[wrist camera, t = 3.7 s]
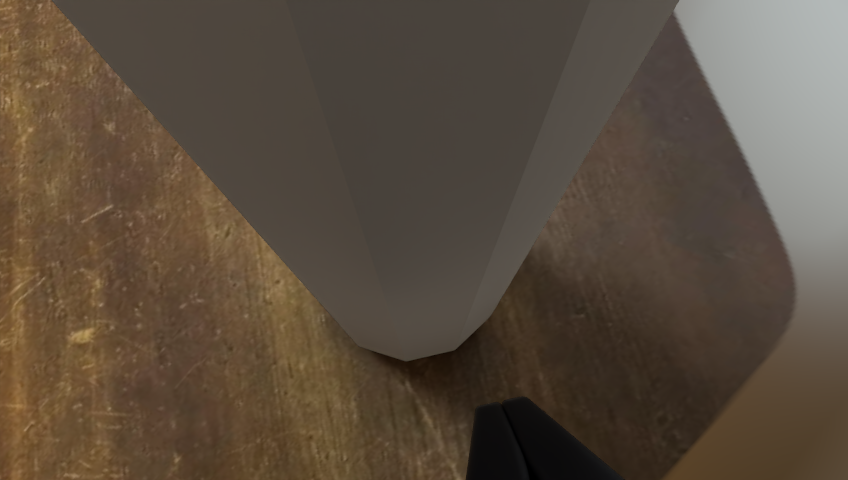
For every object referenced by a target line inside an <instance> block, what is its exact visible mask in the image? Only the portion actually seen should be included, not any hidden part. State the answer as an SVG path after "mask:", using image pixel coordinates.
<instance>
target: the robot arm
mask: <svg viewBox="0 0 848 480" xmlns="http://www.w3.org/2000/svg"><path fill="white" fill-rule="evenodd" d="M466 480H625V479H623V478H622V477H621V476H620V475H619V474H617V473H616V472H615V471H614V470H613V469H612V468H610V467H609V466H608V465H607V464H606V463H604V462H603V461H602V460H601V459H600V458H598V457H597V456H596V455H595V454H594V453H593V452H591V451H590V450H589V449H588V448H587V447H585V446H584V445H583V444H582V443H581V442H579V441H578V440H577V439H576V438H575V437H574V436H572V435H571V434H570V433H569V432H568V431H566V430H565V429H564V428H563V427H562V426H560V425H559V424H558V423H557V422H556V421H555V420H553V419H552V418H551V417H550V416H549V415H547V414H546V413H545V412H544V411H543V410H541V409H540V408H539V407H538V406H537V405H536V404H534V403H533V402H532V401H531V400H530V399H528V398H527V397H524V396H522V397H517V398H513V399H508V400H504V401H503V402H502V404H500V403H498V402H494V403H490V404H485V405H481V406H478V407H477V408H476V410H475V416H474V423H473V431H472V438H471V445H470V453H469V460H468V467H467V475H466Z"/></svg>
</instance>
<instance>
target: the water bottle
mask: <svg viewBox="0 0 848 480" xmlns="http://www.w3.org/2000/svg"><path fill="white" fill-rule="evenodd" d="M52 1H53V2H54V3H55V5H56V6H57V7H58V8H59V9H60V10H61V11H62V13H63V14H64V15H65V16H66V17H67V18H68V19H69V20H70V22H71V23H72V24H73V25H74V26H75V27H76V28H77V29H78V31H79V32H80V33H81V34H82V35H83V36H84V37H85V38H86V40H87V41H88V42H89V43H90V44H91V45H92V46H93V47H94V49H95V50H96V51H97V52H98V53H99V54H100V55H101V57H102V58H103V59H104V60H105V61H106V62H107V63H108V64H109V66H110V67H111V68H112V69H113V70H114V71H115V72H116V73H117V75H118V76H119V77H120V78H121V79H122V80H123V81H124V82H125V84H126V85H127V86H128V87H129V88H130V89H131V90H132V91H133V93H134V94H135V95H136V96H137V97H138V98H139V99H140V100H141V102H142V103H143V104H144V105H145V106H146V107H147V108H148V110H149V111H150V112H151V113H152V114H153V115H154V116H155V117H156V119H157V120H158V121H159V122H160V123H161V124H162V125H163V126H164V128H165V129H166V130H167V131H168V132H169V133H170V134H171V135H172V137H173V138H174V139H175V140H176V141H177V142H178V143H179V144H180V146H181V147H182V148H183V149H184V150H185V151H186V152H187V153H188V155H189V156H190V157H191V158H192V159H193V160H194V161H195V163H196V164H197V165H198V166H199V167H200V168H201V169H202V170H203V172H204V173H205V174H206V175H207V176H208V177H209V178H210V179H211V181H212V182H213V183H214V184H215V185H216V186H217V187H218V188H219V190H220V191H221V192H222V193H223V194H224V195H225V196H226V197H227V199H228V200H229V201H230V202H231V203H232V204H233V205H234V207H235V208H236V209H237V210H238V211H239V212H240V213H241V214H242V216H243V217H244V218H245V219H246V220H247V221H248V222H249V223H250V225H251V226H252V227H253V228H254V229H255V230H256V231H257V232H258V234H259V235H260V236H261V237H262V238H263V239H264V240H265V241H266V243H267V244H268V245H269V246H270V247H271V248H272V249H273V250H274V252H275V253H276V254H277V255H278V256H279V257H280V258H281V260H282V261H283V262H284V263H285V264H286V265H287V266H288V267H289V269H290V270H291V271H292V272H293V273H294V274H295V275H296V276H297V278H298V279H299V280H300V281H301V282H302V283H303V284H304V285H305V287H306V288H307V289H308V290H309V291H310V292H311V293H312V294H313V296H314V297H315V298H316V299H317V300H318V301H319V302H320V303H321V305H322V306H323V307H324V308H325V309H326V310H327V311H328V313H329V314H330V315H331V316H332V317H333V318H334V319H335V320H336V322H337V323H338V324H339V325H340V326H341V327H342V328H343V329H344V331H345V332H346V333H347V334H348V335H349V336H350V337H351V338H352V340H353V341H354V342H355V343H356V344H357V345H358V346H359V347H362V348H365V349H368V350H371V351H375V352H378V353H381V354H384V355H387V356H390V357H394V358H397V359H400V360H403V361H410V360H415V359H419V358H423V357H428V356H432V355H436V354H441V353H445V352H449V351H454V350H456V349H457V348H458V347H459V346H460V345H461V344H462V343H463V342H464V341H465V340H466V339H467V338H468V337H469V336H470V335H471V334H473V333H474V332H475V331H476V330H477V329H478V328H479V327H480V326H481V325H482V324H483V323H484V322H485V321H486V320H487V319H488V318H489V317H490V316H491V315H492V313H493V311H494V310H495V308H496V306H497V305H498V303H499V301H500V300H501V298H502V296H503V295H504V293H505V291H506V290H507V288H508V286H509V285H510V283H511V281H512V280H513V278H514V276H515V274H516V273H517V271H518V269H519V268H520V266H521V264H522V263H523V261H524V259H525V258H526V256H527V254H528V253H529V251H530V249H531V248H532V246H533V244H534V243H535V241H536V239H537V238H538V236H539V234H540V233H541V231H542V229H543V228H544V226H545V224H546V223H547V221H548V219H549V218H550V216H551V214H552V213H553V211H554V209H555V208H556V206H557V204H558V203H559V201H560V199H561V197H562V196H563V194H564V192H565V191H566V189H567V187H568V186H569V184H570V182H571V181H572V179H573V177H574V176H575V174H576V172H577V171H578V169H579V167H580V166H581V164H582V162H583V161H584V159H585V157H586V156H587V154H588V152H589V151H590V149H591V147H592V146H593V144H594V142H595V141H596V139H597V137H598V136H599V134H600V132H601V131H602V129H603V127H604V125H605V124H606V122H607V120H608V119H609V117H610V115H611V114H612V112H613V110H614V109H615V107H616V105H617V104H618V102H619V100H620V99H621V97H622V95H623V94H624V92H625V90H626V89H627V87H628V85H629V84H630V82H631V80H632V79H633V77H634V75H635V74H636V72H637V70H638V69H639V67H640V65H641V64H642V62H643V60H644V59H645V57H646V55H647V53H648V52H649V50H650V48H651V47H652V45H653V43H654V42H655V40H656V38H657V37H658V35H659V33H660V32H661V30H662V28H663V27H664V25H665V23H666V22H667V20H668V18H669V17H670V15H671V13H672V12H673V10H674V8H675V7H676V5H677V3H678V2H679V0H52Z"/></svg>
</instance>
